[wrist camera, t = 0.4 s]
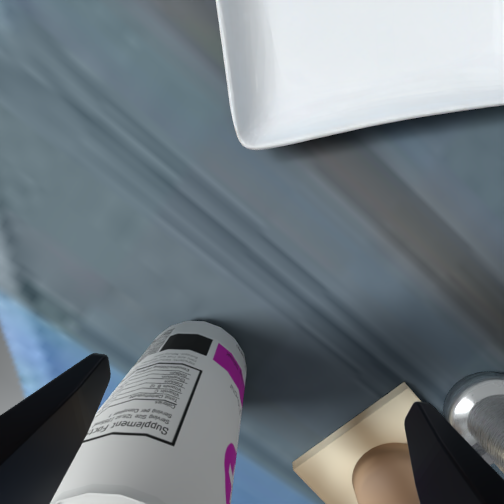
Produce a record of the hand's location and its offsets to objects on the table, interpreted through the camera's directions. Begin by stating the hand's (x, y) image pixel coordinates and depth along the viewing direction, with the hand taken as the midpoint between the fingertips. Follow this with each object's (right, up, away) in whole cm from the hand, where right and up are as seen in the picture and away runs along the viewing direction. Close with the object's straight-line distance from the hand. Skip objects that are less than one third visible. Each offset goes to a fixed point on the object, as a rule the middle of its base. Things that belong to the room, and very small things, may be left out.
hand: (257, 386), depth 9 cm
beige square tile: (+12, -15, +18) cm, 26 cm away
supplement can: (-5, -5, +17) cm, 19 cm away
